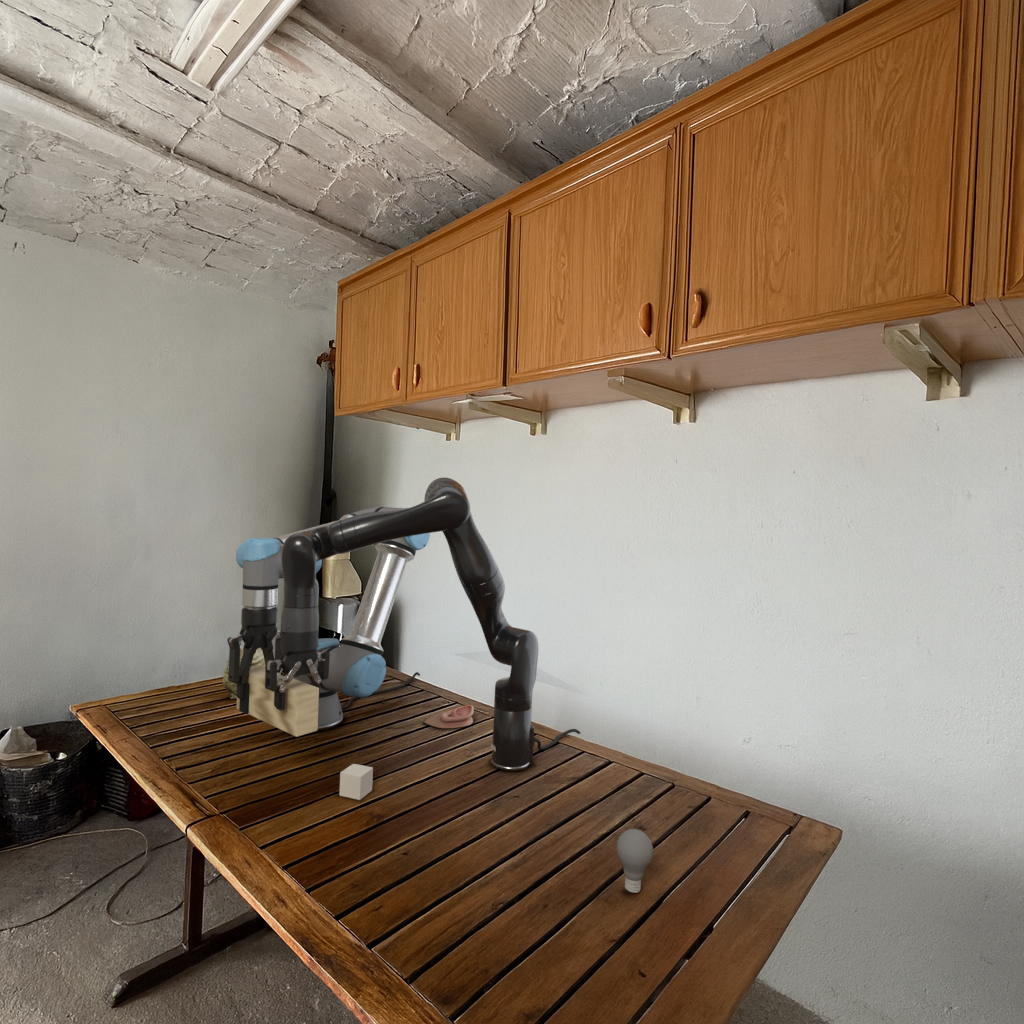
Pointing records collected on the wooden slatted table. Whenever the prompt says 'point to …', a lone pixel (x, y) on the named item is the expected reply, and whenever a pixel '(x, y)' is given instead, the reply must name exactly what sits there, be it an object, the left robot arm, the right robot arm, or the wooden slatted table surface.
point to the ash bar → (298, 704)
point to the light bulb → (634, 857)
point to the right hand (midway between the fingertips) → (296, 704)
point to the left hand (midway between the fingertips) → (256, 708)
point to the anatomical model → (452, 718)
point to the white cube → (356, 781)
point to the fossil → (257, 660)
